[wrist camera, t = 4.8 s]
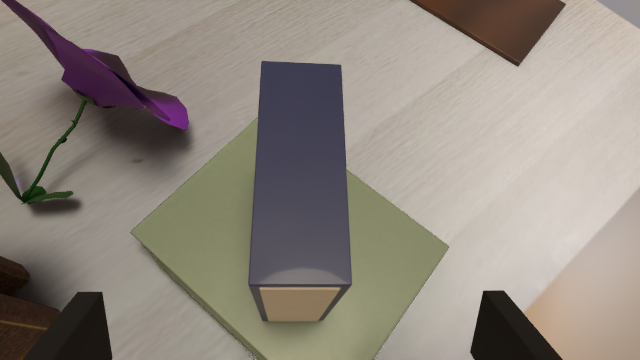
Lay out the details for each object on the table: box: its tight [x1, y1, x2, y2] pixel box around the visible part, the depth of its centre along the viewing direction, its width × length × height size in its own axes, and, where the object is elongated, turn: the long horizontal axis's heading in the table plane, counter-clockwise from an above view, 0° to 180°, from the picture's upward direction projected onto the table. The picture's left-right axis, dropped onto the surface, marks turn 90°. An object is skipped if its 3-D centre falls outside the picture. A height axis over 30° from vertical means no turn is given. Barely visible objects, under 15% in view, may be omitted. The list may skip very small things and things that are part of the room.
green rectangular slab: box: [130, 118, 449, 360], centre depth 30 cm, size 18×15×3 cm
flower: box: [0, 0, 189, 204], centre depth 29 cm, size 15×15×14 cm
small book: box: [248, 61, 352, 322], centre depth 23 cm, size 4×11×12 cm, turn 1°
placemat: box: [411, 0, 566, 66], centre depth 45 cm, size 14×12×1 cm
